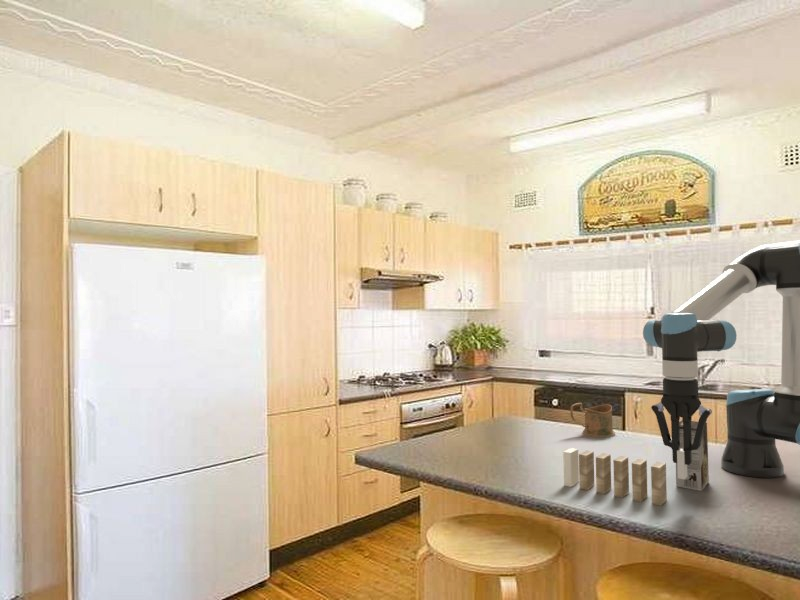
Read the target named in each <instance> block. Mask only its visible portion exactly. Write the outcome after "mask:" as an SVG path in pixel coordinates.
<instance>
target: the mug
mask: <svg viewBox="0 0 800 600" xmlns="http://www.w3.org/2000/svg"><path fill="white" fill-rule="evenodd" d="M575 406H579V408H580V411H581V412H583V413H584V424H583V423H582V422H580V421H577V420H576V419H575V417H574V414H573V413H574V407H575ZM569 408H570V412H569V413H570V418H571V420H572V421H573V422H575V423H578V424H580V425H581V426H582V427H583V428H584V429H583V430H582V434H583V435H585V436H586V437H593V438H613V437H615V436H616V432H614V430H613V407H612V405H611V404H600V405H596V406H593V407H585V408H583V403H582V402H577V403H574V404H572V405H570V407H569Z"/></svg>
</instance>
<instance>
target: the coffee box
mask: <svg viewBox="0 0 800 600" xmlns="http://www.w3.org/2000/svg"><path fill="white" fill-rule="evenodd" d="M697 425H698V421H695V420H691V434H692V444H693V441H694V437H695V433H696V429H697ZM679 428H680V445H681V446H680V447H679V449H680V448H681V449H684V440H683V421H682V420H681V421H680V420H679ZM708 443H709V441H708V422H706V425H705V429H704V433H703V437H702V441H701V445H700V447H699V448H698V449H697V450H692V451H691V454H692V462H691V464H690V465H687V477H686V478H685V479H679V478H678V474H677V463H675V486H676V487H678V488H684V489H688V490H694V491H698V492H703V490H704V489H706V488H705V487H706V486H707V484H708V483H709V482H710V480H709V479H710V476H709V449H708V448H709V445H708Z"/></svg>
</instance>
